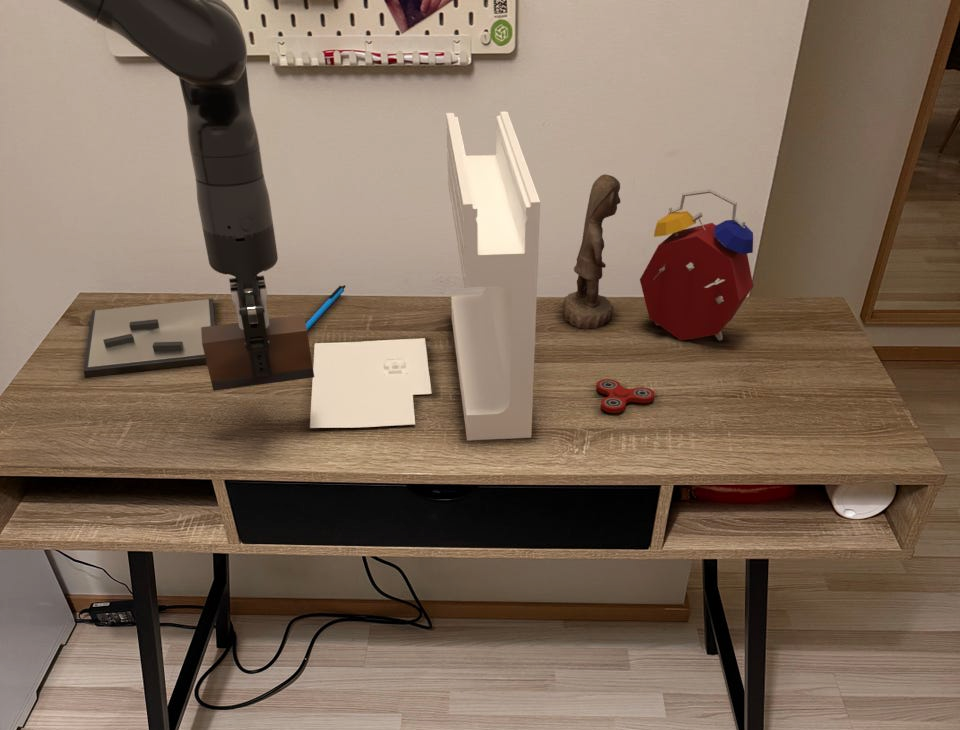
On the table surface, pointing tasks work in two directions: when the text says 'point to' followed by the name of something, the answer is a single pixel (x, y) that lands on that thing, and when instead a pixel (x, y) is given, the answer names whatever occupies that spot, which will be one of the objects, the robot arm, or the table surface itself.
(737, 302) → the alarm clock
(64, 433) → the table surface
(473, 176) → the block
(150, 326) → the stroke
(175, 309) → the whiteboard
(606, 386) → the fidget spinner
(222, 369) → the eraser
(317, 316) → the pen
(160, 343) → the stroke
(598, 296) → the figurine
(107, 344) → the stroke
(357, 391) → the paper
